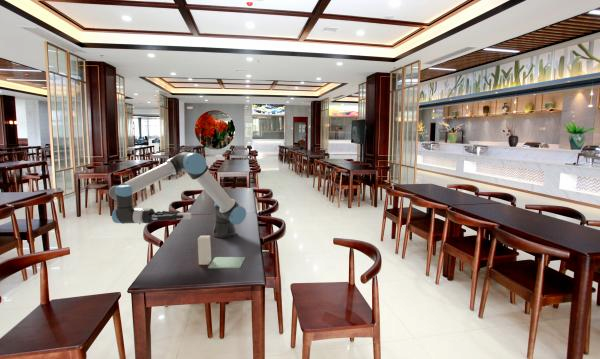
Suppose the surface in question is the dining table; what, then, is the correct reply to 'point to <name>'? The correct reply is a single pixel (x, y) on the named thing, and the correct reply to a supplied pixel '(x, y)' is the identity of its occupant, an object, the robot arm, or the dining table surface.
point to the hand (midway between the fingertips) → (190, 215)
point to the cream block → (204, 250)
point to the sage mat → (226, 262)
